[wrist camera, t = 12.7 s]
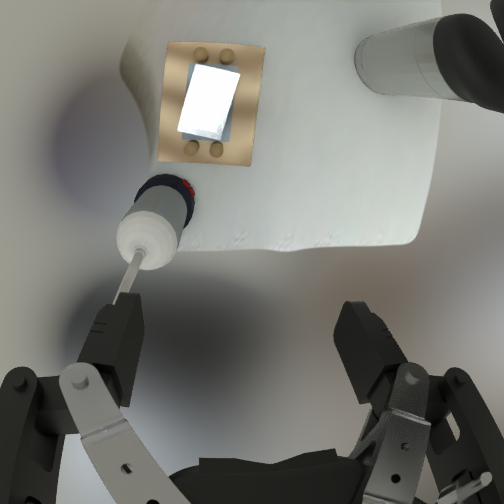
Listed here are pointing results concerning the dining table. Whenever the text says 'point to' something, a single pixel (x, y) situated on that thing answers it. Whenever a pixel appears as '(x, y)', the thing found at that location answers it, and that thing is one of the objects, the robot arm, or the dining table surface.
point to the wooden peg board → (240, 112)
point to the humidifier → (154, 225)
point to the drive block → (208, 101)
